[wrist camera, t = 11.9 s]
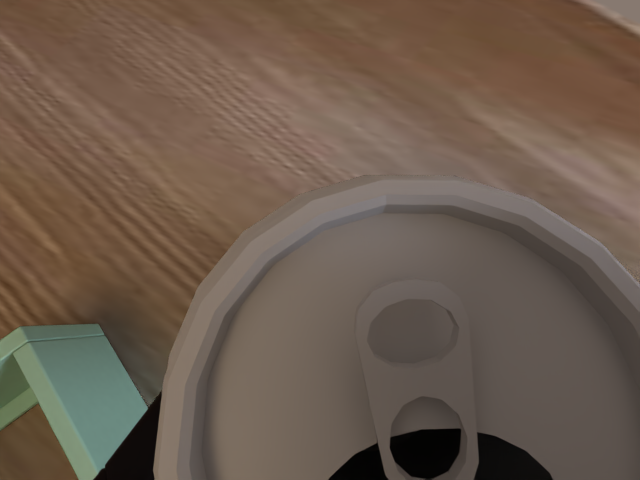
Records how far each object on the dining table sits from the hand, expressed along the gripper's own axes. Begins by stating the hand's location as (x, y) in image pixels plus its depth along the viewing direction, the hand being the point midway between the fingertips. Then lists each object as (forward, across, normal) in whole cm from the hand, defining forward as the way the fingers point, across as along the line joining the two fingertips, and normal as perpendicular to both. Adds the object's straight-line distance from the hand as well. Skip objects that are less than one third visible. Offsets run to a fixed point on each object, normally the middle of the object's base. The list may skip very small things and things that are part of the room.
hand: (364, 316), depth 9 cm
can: (+4, 0, +6) cm, 7 cm away
